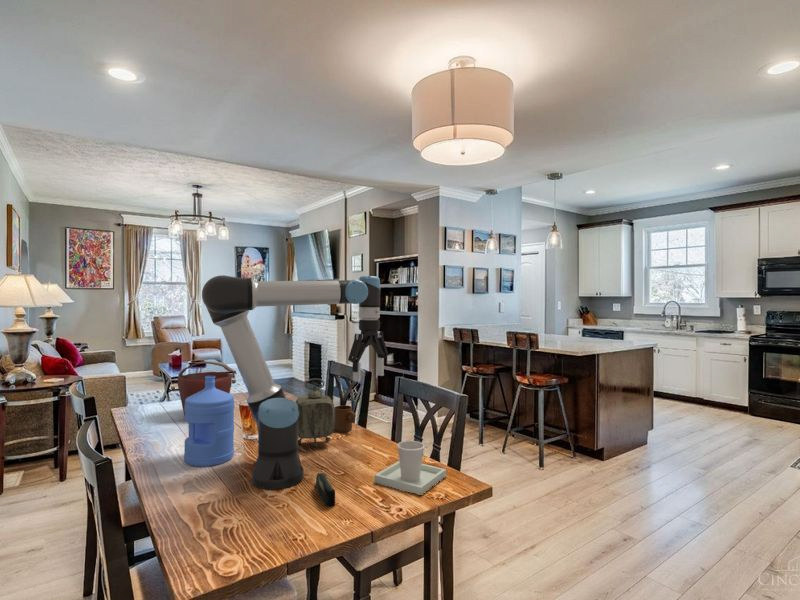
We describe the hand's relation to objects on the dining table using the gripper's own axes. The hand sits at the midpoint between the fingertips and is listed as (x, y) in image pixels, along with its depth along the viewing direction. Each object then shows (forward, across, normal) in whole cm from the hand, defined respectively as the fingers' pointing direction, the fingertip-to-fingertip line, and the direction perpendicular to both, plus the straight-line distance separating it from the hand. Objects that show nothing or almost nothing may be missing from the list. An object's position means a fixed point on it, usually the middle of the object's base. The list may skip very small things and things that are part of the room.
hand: (368, 378), depth 162 cm
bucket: (+26, -8, +87) cm, 91 cm away
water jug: (+26, -37, +39) cm, 60 cm away
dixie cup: (+26, -12, -26) cm, 39 cm away
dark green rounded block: (+27, -35, -12) cm, 46 cm away
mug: (+27, +14, +22) cm, 37 cm away
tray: (+26, -12, -26) cm, 39 cm away
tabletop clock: (+27, -7, +20) cm, 34 cm away
